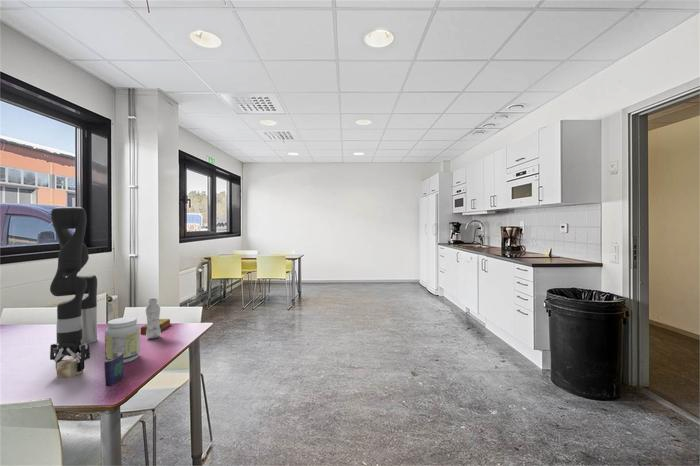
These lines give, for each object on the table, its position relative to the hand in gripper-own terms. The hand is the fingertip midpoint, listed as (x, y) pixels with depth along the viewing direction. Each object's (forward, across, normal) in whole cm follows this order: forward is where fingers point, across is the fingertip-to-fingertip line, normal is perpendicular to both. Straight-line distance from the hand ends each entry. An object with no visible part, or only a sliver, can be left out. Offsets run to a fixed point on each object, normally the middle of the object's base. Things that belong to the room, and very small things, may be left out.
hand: (70, 370), depth 123 cm
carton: (+2, -6, +56) cm, 56 cm away
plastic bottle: (+2, +3, +42) cm, 42 cm away
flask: (+2, +22, -4) cm, 22 cm away
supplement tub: (+2, +9, +15) cm, 18 cm away
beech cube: (+2, 0, 0) cm, 2 cm away
